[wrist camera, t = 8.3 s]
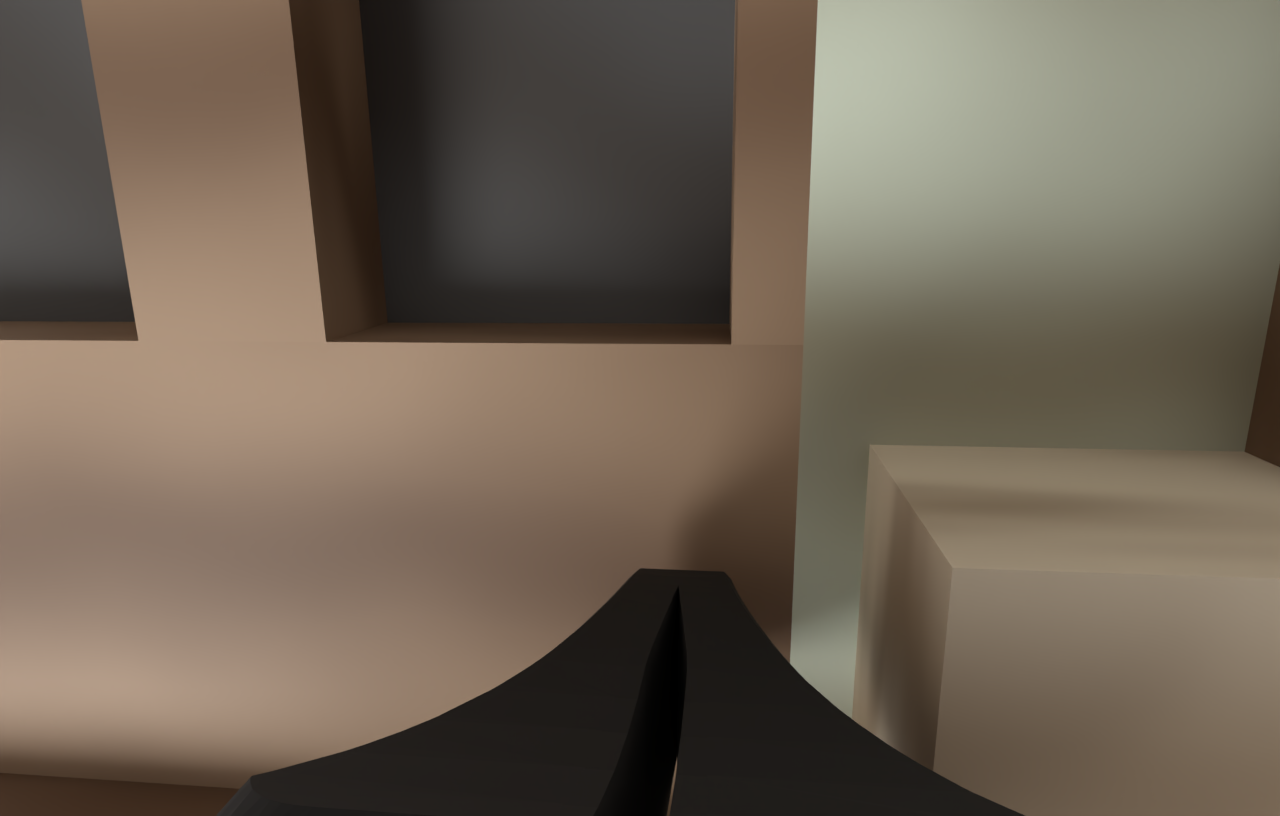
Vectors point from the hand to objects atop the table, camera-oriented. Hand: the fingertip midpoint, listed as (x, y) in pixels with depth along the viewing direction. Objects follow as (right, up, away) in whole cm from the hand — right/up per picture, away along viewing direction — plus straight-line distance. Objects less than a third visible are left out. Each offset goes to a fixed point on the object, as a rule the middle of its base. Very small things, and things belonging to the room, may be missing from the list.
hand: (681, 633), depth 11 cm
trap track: (-3, +4, +3) cm, 6 cm away
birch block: (+5, 0, 0) cm, 5 cm away
